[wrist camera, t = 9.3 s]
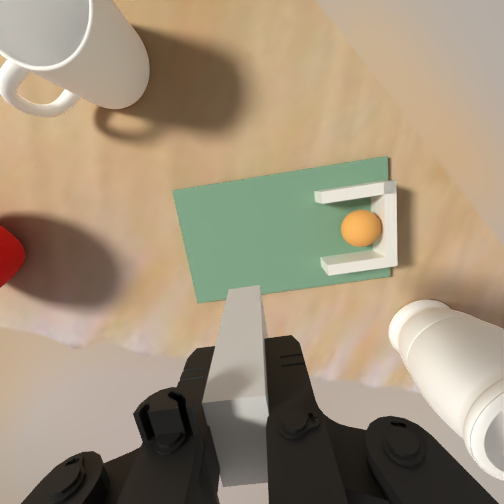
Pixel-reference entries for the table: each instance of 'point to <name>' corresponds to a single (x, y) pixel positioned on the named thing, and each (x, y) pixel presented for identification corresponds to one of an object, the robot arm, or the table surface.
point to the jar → (457, 373)
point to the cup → (71, 53)
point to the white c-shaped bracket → (387, 240)
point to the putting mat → (272, 229)
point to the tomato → (9, 255)
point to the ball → (360, 228)
